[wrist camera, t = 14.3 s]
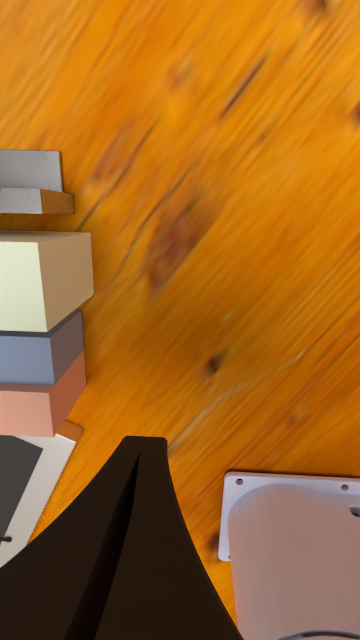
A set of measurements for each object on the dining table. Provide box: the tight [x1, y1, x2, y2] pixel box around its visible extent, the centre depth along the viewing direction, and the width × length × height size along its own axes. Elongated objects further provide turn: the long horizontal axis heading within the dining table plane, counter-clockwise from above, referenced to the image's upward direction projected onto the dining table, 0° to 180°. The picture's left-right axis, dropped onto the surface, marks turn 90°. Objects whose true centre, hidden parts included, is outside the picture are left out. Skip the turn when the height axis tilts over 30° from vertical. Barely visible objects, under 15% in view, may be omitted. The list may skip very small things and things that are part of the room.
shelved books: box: [0, 310, 86, 438], centre depth 18 cm, size 6×5×5 cm
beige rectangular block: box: [0, 230, 94, 332], centre depth 16 cm, size 6×4×6 cm, turn 89°
